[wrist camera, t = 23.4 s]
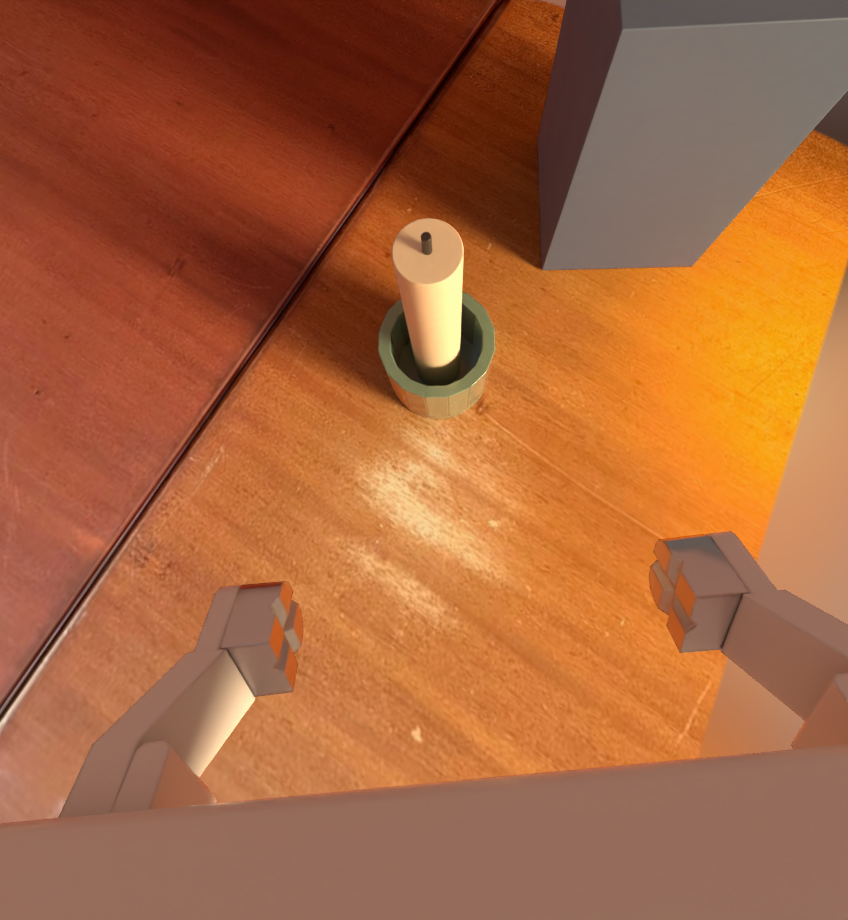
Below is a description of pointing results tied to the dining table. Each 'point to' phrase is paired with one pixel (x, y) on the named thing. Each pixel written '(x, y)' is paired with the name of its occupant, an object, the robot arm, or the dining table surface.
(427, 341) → the taper
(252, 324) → the dining table surface
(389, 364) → the holder
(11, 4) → the dining table surface
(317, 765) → the dining table surface
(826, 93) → the riser
